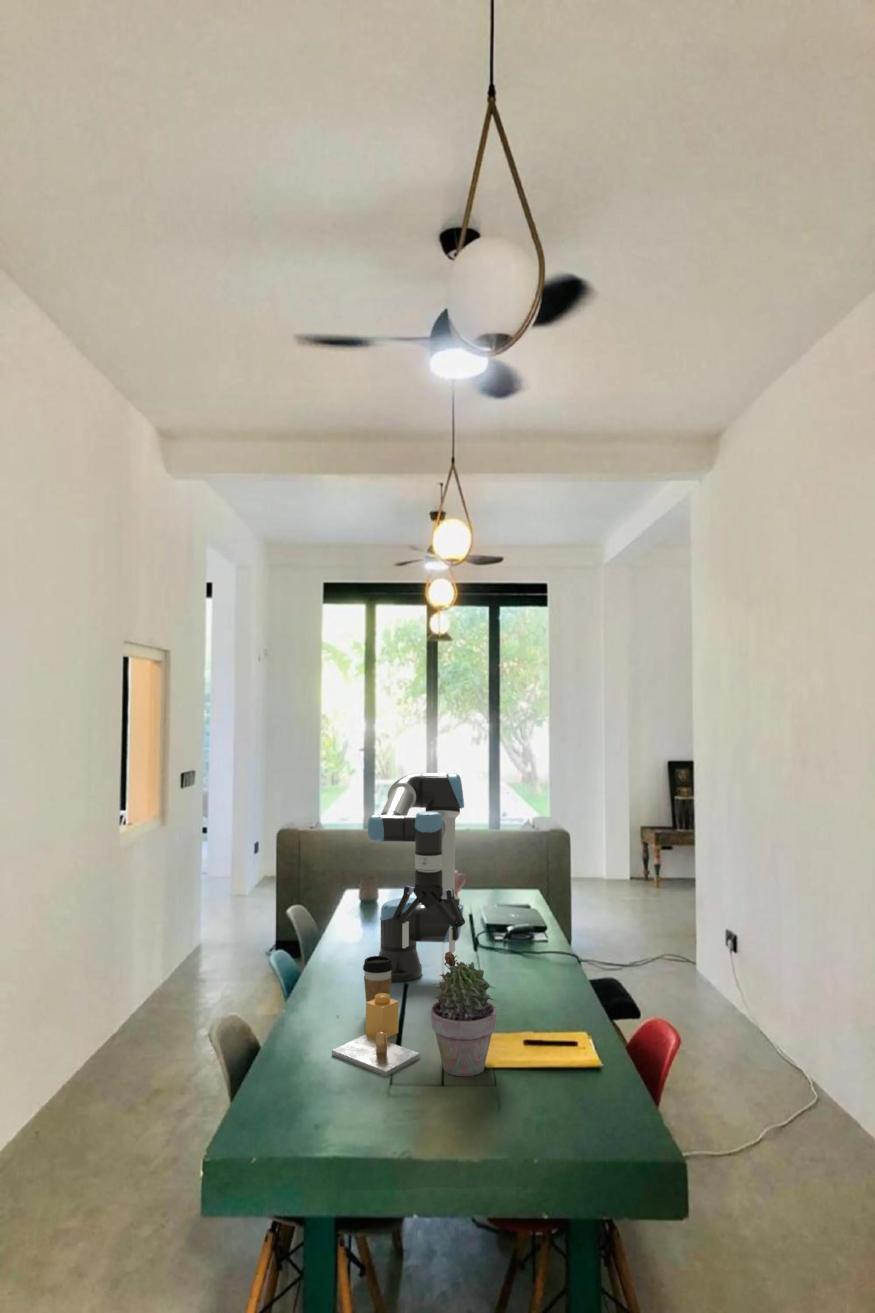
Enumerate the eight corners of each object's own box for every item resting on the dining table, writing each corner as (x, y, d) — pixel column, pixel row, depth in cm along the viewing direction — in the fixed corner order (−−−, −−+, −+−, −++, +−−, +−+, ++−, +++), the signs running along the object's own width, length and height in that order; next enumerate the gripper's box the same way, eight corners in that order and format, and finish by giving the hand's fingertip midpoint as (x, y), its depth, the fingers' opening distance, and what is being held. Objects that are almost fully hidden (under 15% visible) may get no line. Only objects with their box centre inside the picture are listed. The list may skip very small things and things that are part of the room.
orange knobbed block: (365, 1034, 197) (366, 996, 197) (381, 1027, 201) (381, 990, 202) (382, 1040, 193) (382, 1002, 194) (398, 1032, 198) (398, 995, 198)
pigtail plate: (331, 1055, 184) (332, 1029, 185) (366, 1039, 194) (366, 1014, 194) (386, 1077, 173) (386, 1048, 174) (419, 1058, 183) (419, 1032, 183)
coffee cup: (369, 1022, 205) (369, 965, 206) (357, 1011, 212) (358, 956, 213) (397, 1016, 208) (397, 960, 210) (385, 1006, 216) (385, 952, 217)
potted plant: (485, 1095, 165) (484, 977, 167) (411, 1073, 175) (411, 962, 177) (521, 1063, 180) (520, 956, 182) (451, 1044, 190) (450, 943, 192)
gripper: (381, 869, 207) (380, 948, 206) (467, 875, 199) (467, 958, 197) (392, 864, 214) (392, 941, 213) (476, 870, 206) (476, 950, 204)
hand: (428, 949), depth 205 cm, fingers open, 13 cm apart
